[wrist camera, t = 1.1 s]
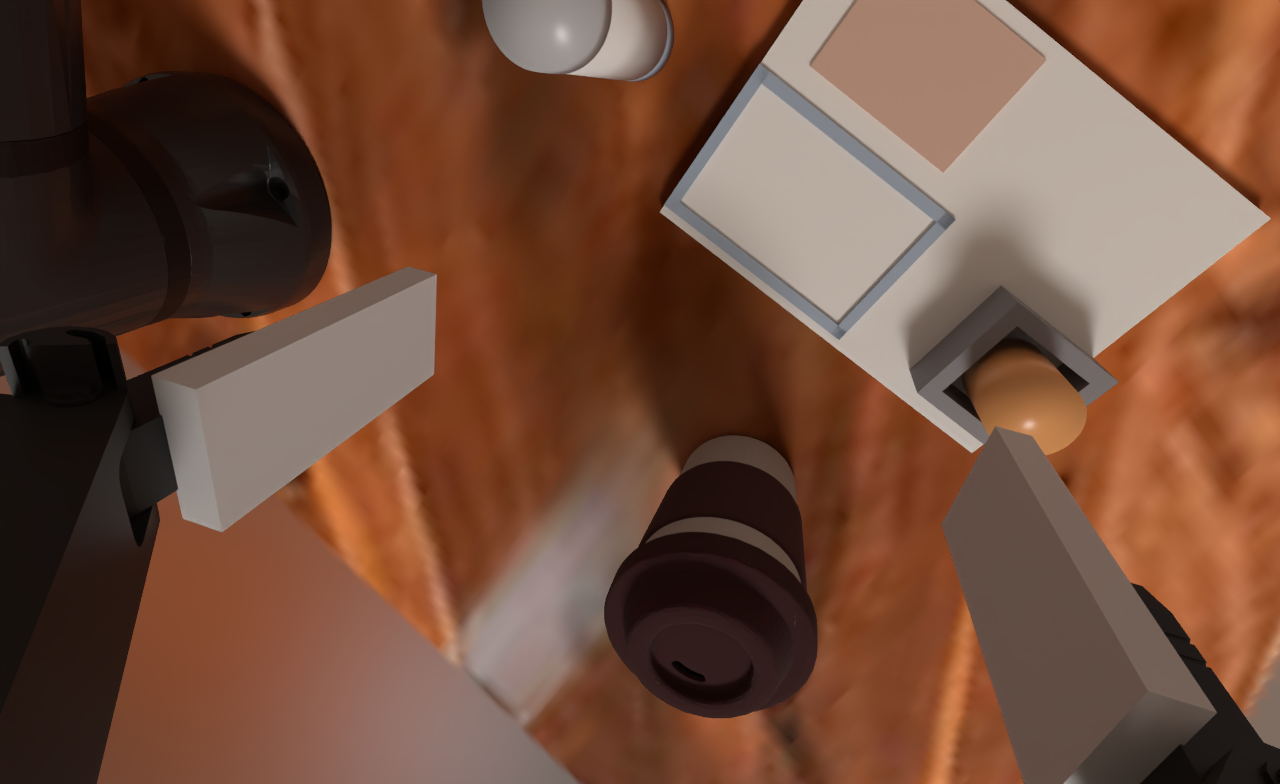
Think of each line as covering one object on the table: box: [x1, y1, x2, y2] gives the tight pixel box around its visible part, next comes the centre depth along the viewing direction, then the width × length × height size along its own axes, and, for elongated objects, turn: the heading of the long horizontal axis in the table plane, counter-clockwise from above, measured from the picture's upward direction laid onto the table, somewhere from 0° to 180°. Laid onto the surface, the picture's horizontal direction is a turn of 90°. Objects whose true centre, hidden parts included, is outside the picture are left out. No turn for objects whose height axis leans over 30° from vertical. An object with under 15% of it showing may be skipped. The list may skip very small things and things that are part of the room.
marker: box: [482, 0, 674, 82], centre depth 25 cm, size 4×4×12 cm
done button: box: [962, 338, 1087, 455], centre depth 28 cm, size 4×4×5 cm
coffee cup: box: [604, 435, 817, 718], centre depth 33 cm, size 10×10×15 cm
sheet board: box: [660, 0, 1271, 453], centre depth 29 cm, size 22×16×4 cm
